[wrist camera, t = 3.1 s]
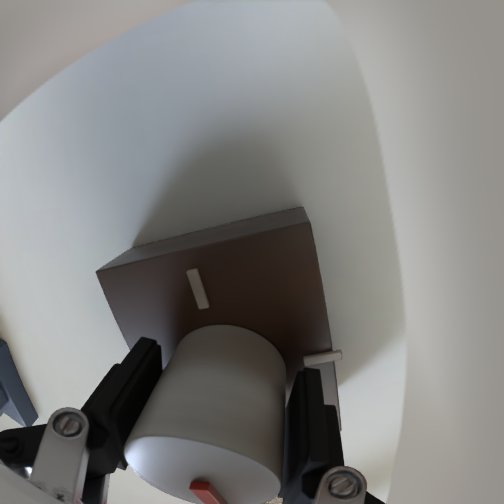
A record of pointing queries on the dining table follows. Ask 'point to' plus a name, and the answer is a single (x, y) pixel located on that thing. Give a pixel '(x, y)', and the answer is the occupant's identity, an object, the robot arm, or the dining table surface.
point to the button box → (13, 391)
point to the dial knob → (215, 420)
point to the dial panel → (230, 291)
